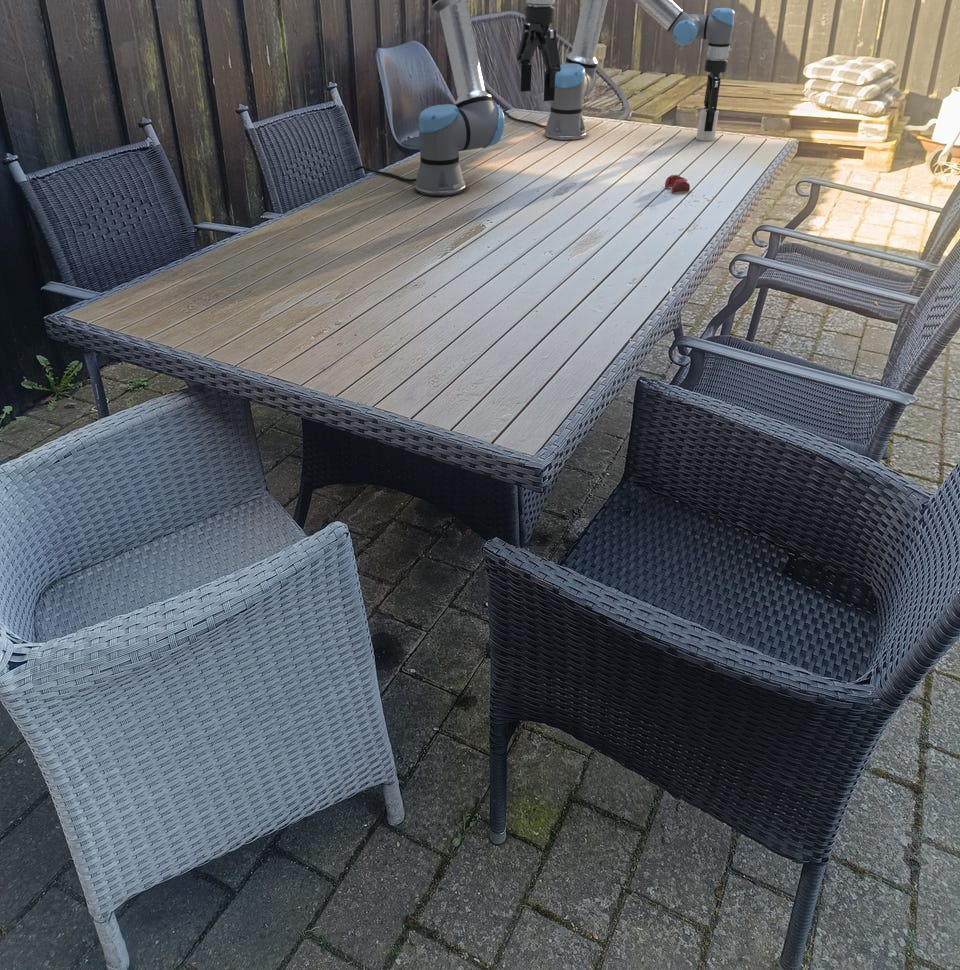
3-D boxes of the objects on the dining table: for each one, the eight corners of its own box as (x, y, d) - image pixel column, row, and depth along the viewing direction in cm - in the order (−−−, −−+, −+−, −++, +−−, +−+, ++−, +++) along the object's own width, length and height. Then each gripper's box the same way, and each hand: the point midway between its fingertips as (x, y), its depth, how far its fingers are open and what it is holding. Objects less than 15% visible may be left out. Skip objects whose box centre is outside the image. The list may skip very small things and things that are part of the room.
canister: (705, 141, 306) (709, 113, 301) (692, 137, 311) (696, 110, 305) (718, 139, 309) (722, 111, 304) (705, 135, 314) (709, 107, 308)
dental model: (681, 171, 259) (692, 178, 253) (679, 184, 262) (690, 192, 256) (664, 173, 258) (675, 180, 252) (662, 186, 261) (673, 194, 255)
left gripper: (577, 9, 205) (572, 103, 218) (531, -1, 224) (528, 86, 236) (550, 11, 203) (546, 106, 215) (505, 0, 221) (504, 88, 234)
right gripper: (732, 64, 286) (721, 135, 300) (723, 54, 302) (713, 122, 316) (709, 63, 287) (699, 135, 300) (702, 54, 303) (693, 122, 316)
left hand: (537, 95), depth 226 cm, fingers open, 13 cm apart
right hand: (706, 128), depth 308 cm, fingers closed on canister, 7 cm apart
